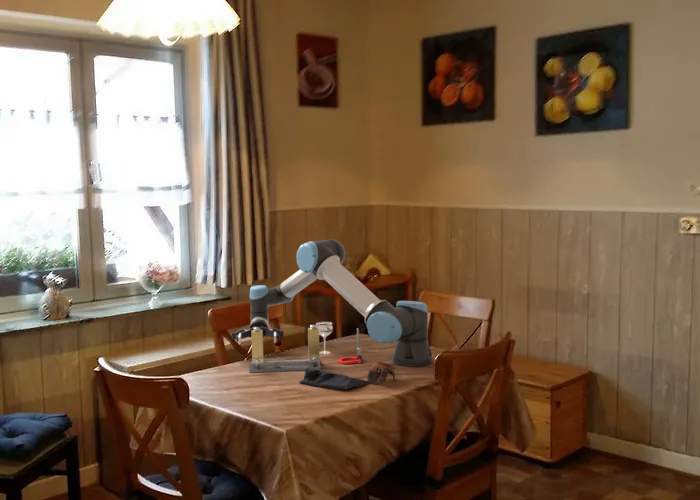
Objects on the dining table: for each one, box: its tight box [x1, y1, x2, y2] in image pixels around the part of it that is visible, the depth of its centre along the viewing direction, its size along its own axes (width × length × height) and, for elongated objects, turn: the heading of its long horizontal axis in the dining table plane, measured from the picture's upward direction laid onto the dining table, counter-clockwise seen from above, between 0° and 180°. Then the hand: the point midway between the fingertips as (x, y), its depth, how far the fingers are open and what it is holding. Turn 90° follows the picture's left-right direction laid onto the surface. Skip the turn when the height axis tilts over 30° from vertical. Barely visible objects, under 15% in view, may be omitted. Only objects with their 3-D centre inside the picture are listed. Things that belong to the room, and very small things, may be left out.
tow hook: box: [337, 328, 363, 365], centre depth 288 cm, size 8×13×9 cm
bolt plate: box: [249, 324, 321, 373], centre depth 283 cm, size 26×12×15 cm, turn 95°
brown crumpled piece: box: [366, 360, 396, 386], centre depth 261 cm, size 12×10×8 cm
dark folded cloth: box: [299, 368, 369, 391], centre depth 262 cm, size 15×22×5 cm
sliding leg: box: [250, 327, 265, 366], centre depth 281 cm, size 4×7×13 cm, turn 5°
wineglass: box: [315, 321, 334, 355], centre depth 302 cm, size 7×7×12 cm
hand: (257, 340), depth 289 cm, fingers open, 13 cm apart
